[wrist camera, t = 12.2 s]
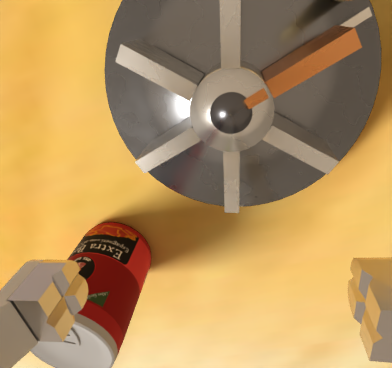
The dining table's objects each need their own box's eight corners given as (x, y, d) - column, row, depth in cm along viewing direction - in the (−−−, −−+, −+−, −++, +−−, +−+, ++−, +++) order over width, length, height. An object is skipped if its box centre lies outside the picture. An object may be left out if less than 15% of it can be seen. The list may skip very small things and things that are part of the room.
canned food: (142, 217, 29) (94, 317, 19) (161, 274, 33) (127, 379, 23) (74, 221, 30) (-1, 314, 21) (99, 274, 34) (45, 373, 25)
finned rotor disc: (290, -86, 14) (303, -112, 11) (374, 123, 19) (399, 144, 16) (97, 74, 20) (71, 85, 17) (198, 206, 24) (192, 234, 21)
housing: (392, 147, 22) (423, 175, 18) (186, 217, 28) (177, 249, 24) (325, -155, 14) (354, -213, 11) (67, 31, 21) (28, 35, 17)
